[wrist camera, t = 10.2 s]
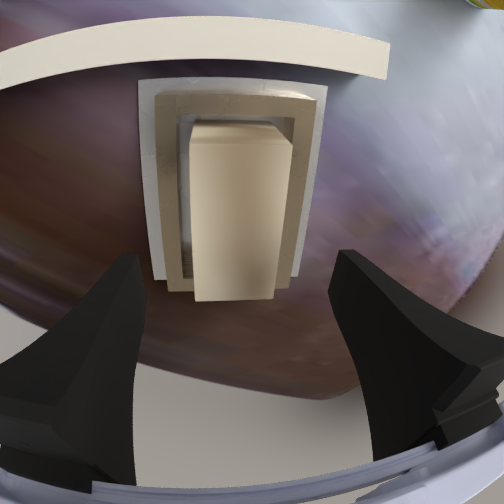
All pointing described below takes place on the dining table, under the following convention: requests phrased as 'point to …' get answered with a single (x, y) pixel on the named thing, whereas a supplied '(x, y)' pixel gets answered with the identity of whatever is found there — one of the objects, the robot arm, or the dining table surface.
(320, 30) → the board
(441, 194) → the dining table surface
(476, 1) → the supplement bottle
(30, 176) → the dining table surface
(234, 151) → the bar
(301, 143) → the keeper
